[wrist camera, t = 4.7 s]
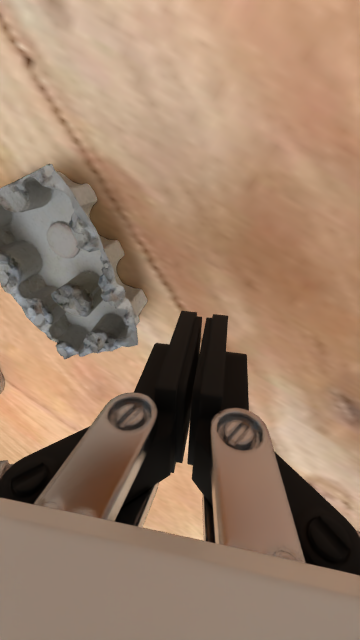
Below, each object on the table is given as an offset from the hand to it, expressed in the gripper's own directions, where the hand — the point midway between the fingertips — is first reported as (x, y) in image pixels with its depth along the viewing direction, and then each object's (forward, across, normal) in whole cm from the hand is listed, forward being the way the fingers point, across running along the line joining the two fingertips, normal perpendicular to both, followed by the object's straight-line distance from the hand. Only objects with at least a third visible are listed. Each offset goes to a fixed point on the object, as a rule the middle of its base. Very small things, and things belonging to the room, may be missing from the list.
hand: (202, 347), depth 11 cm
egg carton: (+8, +9, 0) cm, 12 cm away
